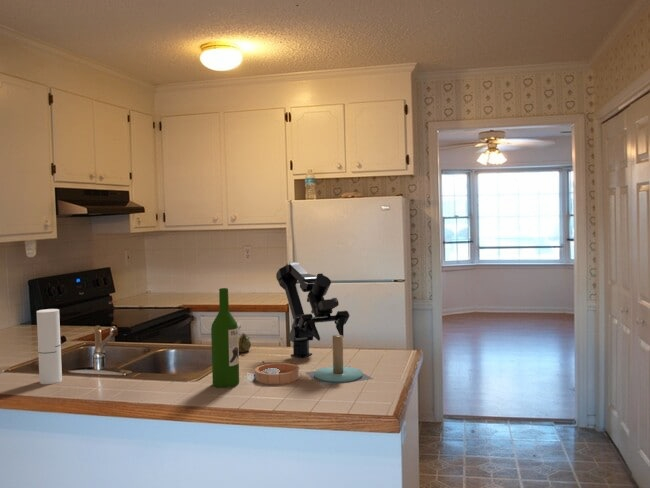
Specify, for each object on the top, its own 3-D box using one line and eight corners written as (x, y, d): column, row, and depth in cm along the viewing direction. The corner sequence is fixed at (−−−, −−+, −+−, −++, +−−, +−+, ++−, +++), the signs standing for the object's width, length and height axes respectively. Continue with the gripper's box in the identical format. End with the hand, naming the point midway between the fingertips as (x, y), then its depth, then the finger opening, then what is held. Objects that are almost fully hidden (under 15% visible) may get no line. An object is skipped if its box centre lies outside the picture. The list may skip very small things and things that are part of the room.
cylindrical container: (66, 379, 209) (63, 309, 208) (51, 384, 202) (48, 312, 201) (50, 377, 211) (47, 308, 210) (34, 383, 204) (31, 311, 203)
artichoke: (253, 349, 251) (253, 330, 250) (249, 353, 243) (249, 334, 242) (236, 349, 251) (236, 330, 251) (231, 353, 244) (231, 334, 243)
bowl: (273, 370, 216) (273, 361, 215) (307, 376, 207) (307, 366, 207) (246, 380, 203) (246, 370, 203) (281, 387, 195) (280, 376, 195)
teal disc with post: (331, 366, 218) (330, 329, 218) (371, 373, 209) (370, 334, 208) (304, 378, 204) (303, 338, 204) (346, 385, 195) (345, 343, 194)
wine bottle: (231, 388, 194) (228, 290, 192) (207, 386, 197) (205, 289, 195) (244, 381, 202) (241, 287, 201) (221, 379, 205) (218, 286, 204)
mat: (304, 373, 211) (304, 372, 211) (349, 367, 219) (349, 366, 219) (325, 386, 195) (325, 385, 195) (373, 379, 202) (373, 378, 202)
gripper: (300, 292, 211) (313, 328, 202) (347, 288, 219) (361, 323, 209) (292, 311, 219) (304, 346, 209) (338, 307, 227) (351, 340, 217)
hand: (331, 338), depth 211 cm, fingers open, 9 cm apart
